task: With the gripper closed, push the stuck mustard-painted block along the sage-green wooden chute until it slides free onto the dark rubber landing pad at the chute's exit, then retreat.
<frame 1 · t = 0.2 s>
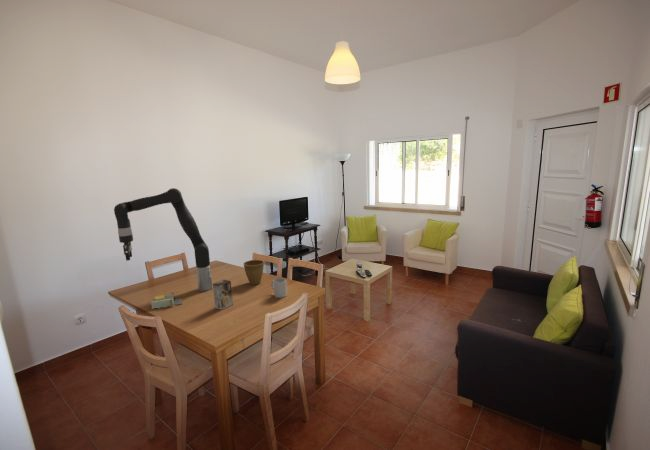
hand: (129, 258, 206), 29 cm above the table, fingers open, 8 cm apart
jammed block: (160, 300, 202), point 3 cm above the table, slide at 0.0 cm
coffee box: (224, 306, 199), on the table
plant pot: (255, 283, 237), on the table
mug: (278, 294, 215), on the table
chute: (166, 304, 204), on the table
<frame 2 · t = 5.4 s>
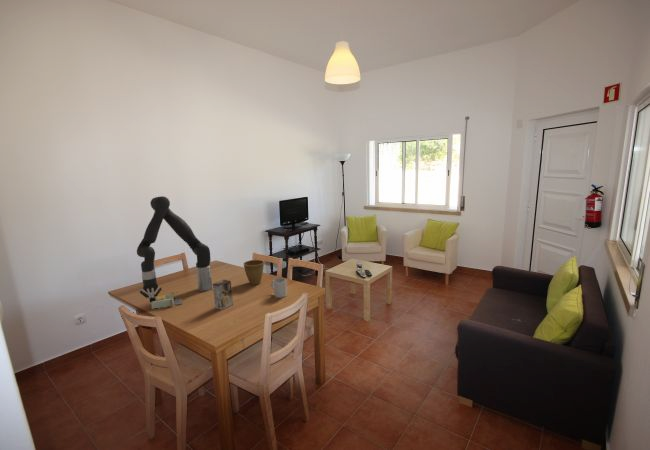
hand: (152, 302, 201), 2 cm above the table, fingers closed
jammed block: (161, 300, 202), point 3 cm above the table, slide at 0.7 cm, touching gripper
everything else where it was.
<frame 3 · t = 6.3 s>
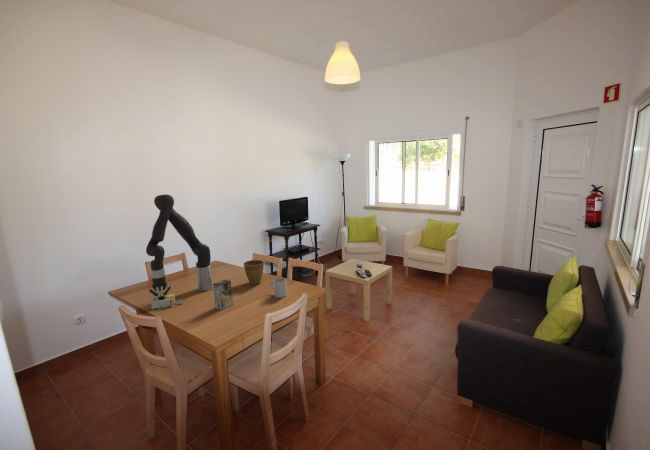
hand: (161, 301, 203), 2 cm above the table, fingers closed
jammed block: (170, 298, 204), point 3 cm above the table, slide at 5.9 cm, touching gripper
everything else where it was.
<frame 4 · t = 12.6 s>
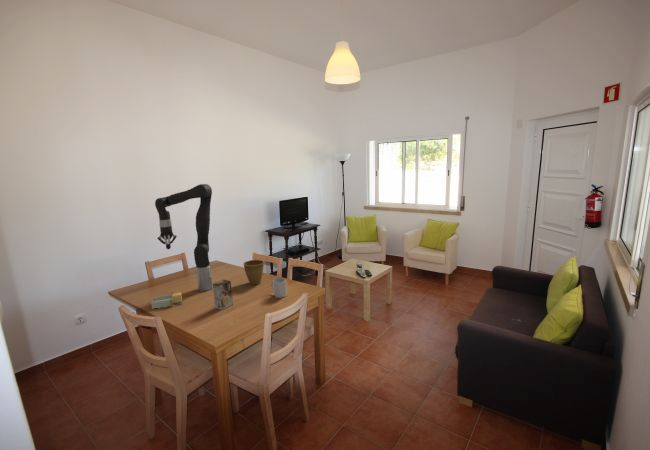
hand: (168, 249, 227), 29 cm above the table, fingers closed
jammed block: (177, 297, 206), point 3 cm above the table, slide at 9.9 cm
everything else where it was.
at the end: jammed block slide at 9.9 cm; jammed block inside the target area (1.4 cm from its centre), resting on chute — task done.
